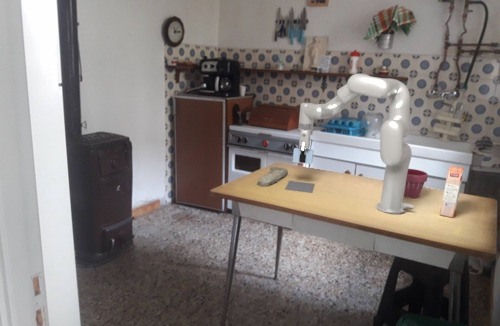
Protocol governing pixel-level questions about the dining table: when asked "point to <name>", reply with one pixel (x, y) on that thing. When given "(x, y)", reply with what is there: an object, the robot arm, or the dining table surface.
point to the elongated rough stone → (272, 176)
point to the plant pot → (414, 183)
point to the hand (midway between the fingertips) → (302, 160)
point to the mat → (300, 186)
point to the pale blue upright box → (308, 154)
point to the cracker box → (451, 191)
